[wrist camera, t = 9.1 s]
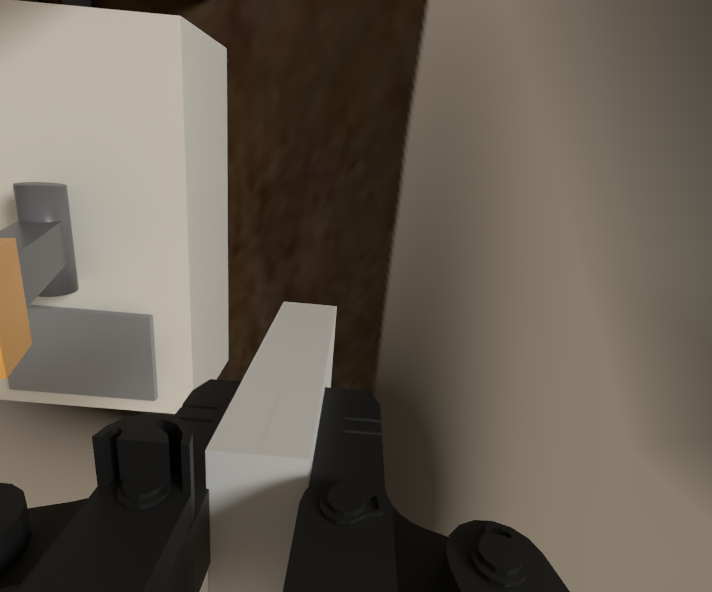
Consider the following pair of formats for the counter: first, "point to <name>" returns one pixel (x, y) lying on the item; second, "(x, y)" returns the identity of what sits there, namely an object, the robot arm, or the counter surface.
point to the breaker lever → (33, 263)
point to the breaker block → (120, 200)
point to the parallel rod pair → (71, 2)
